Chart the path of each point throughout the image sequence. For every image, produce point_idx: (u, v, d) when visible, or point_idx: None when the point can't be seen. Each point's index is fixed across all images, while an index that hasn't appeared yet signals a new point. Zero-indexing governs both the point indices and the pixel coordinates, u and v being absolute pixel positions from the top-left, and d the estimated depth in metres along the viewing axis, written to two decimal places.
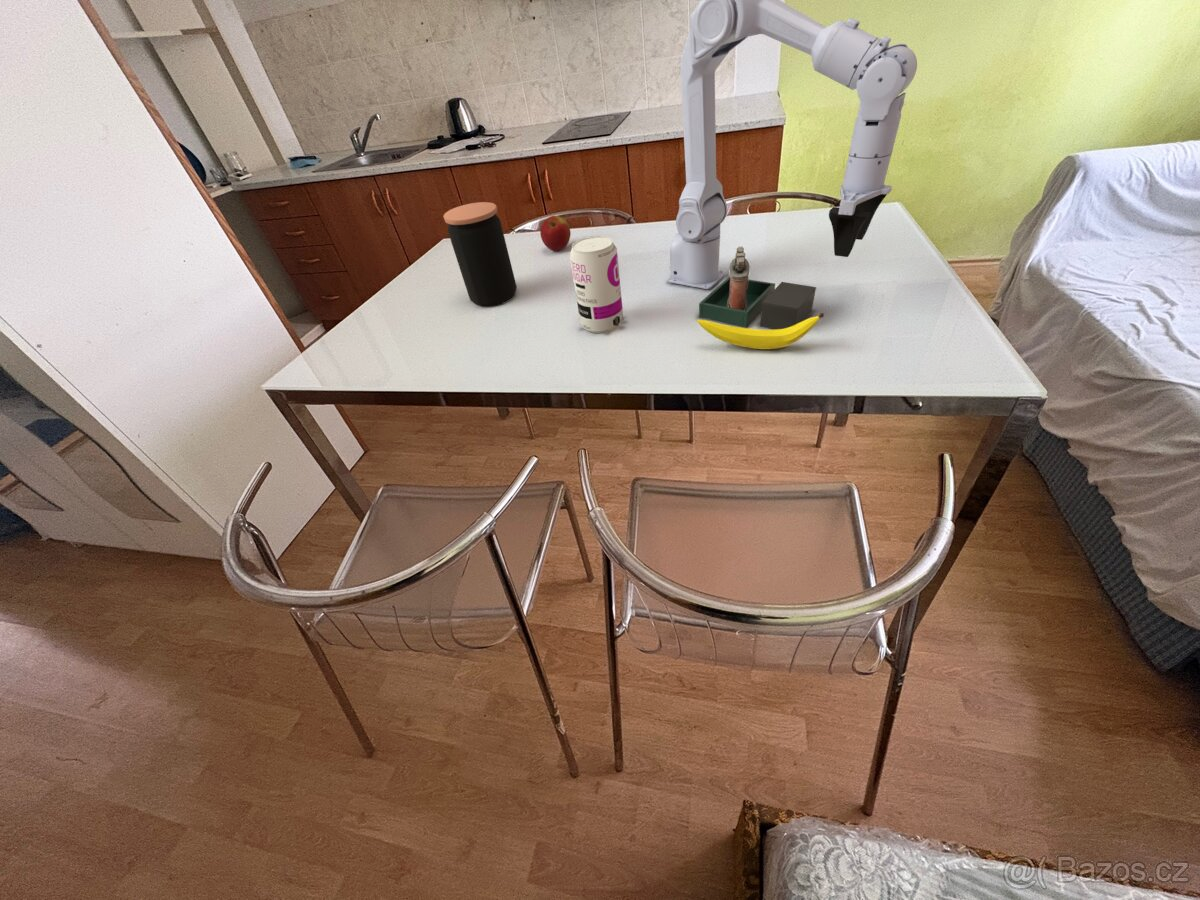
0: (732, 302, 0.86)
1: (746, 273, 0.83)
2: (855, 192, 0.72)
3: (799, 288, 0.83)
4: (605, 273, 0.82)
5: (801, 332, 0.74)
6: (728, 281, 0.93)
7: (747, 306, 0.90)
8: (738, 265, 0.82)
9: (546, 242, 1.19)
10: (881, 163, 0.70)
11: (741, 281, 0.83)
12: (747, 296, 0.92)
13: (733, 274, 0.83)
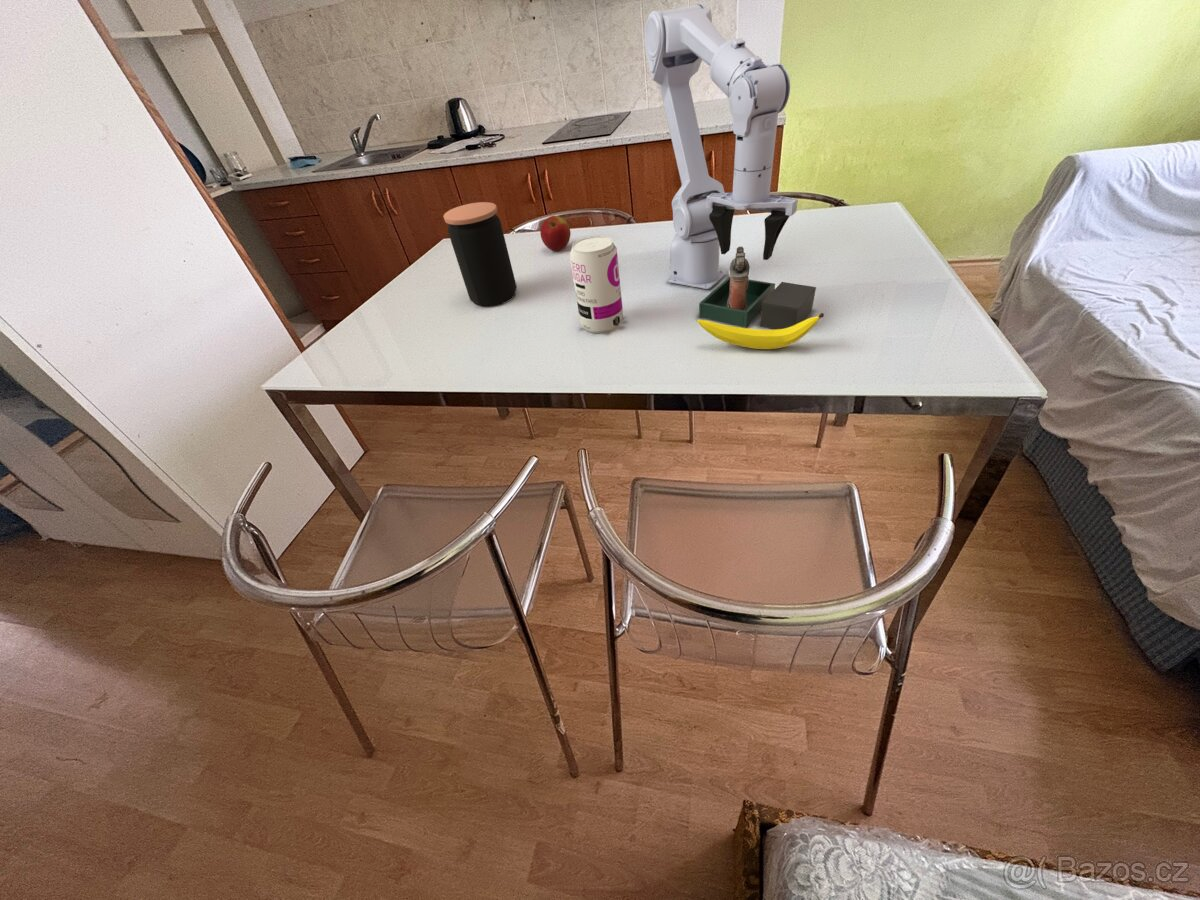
0: (732, 302, 0.86)
1: (746, 273, 0.83)
2: (732, 195, 0.79)
3: (799, 288, 0.83)
4: (605, 273, 0.82)
5: (801, 332, 0.74)
6: (728, 281, 0.93)
7: (747, 306, 0.90)
8: (738, 265, 0.82)
9: (546, 242, 1.19)
10: (736, 176, 0.75)
11: (741, 281, 0.83)
12: (747, 296, 0.92)
13: (733, 274, 0.83)
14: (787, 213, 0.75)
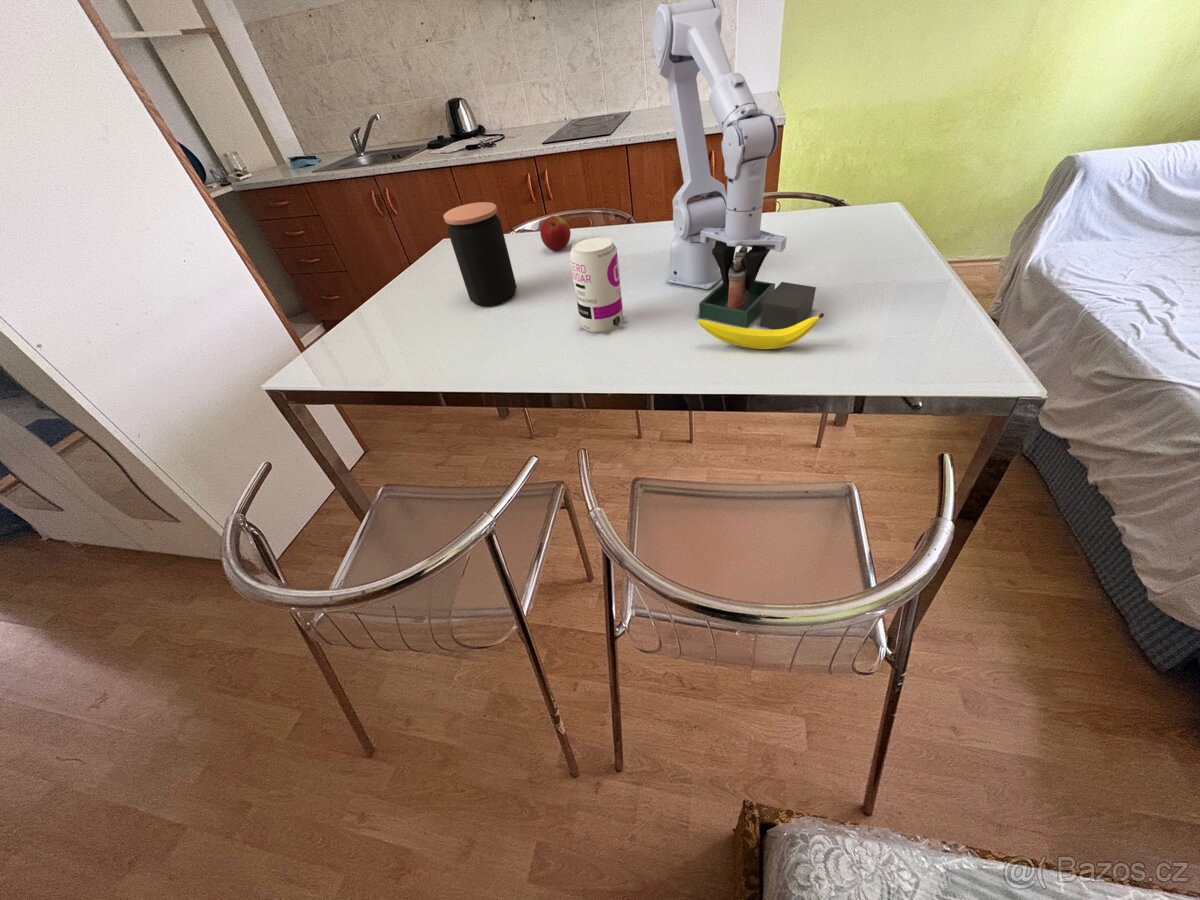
0: (728, 301, 0.87)
1: (743, 273, 0.83)
2: (724, 231, 0.83)
3: (799, 288, 0.83)
4: (605, 273, 0.82)
5: (801, 332, 0.74)
6: None
7: (747, 306, 0.90)
8: (735, 264, 0.83)
9: (546, 242, 1.19)
10: (727, 214, 0.79)
11: (736, 280, 0.83)
12: None
13: (730, 273, 0.84)
14: (776, 250, 0.79)
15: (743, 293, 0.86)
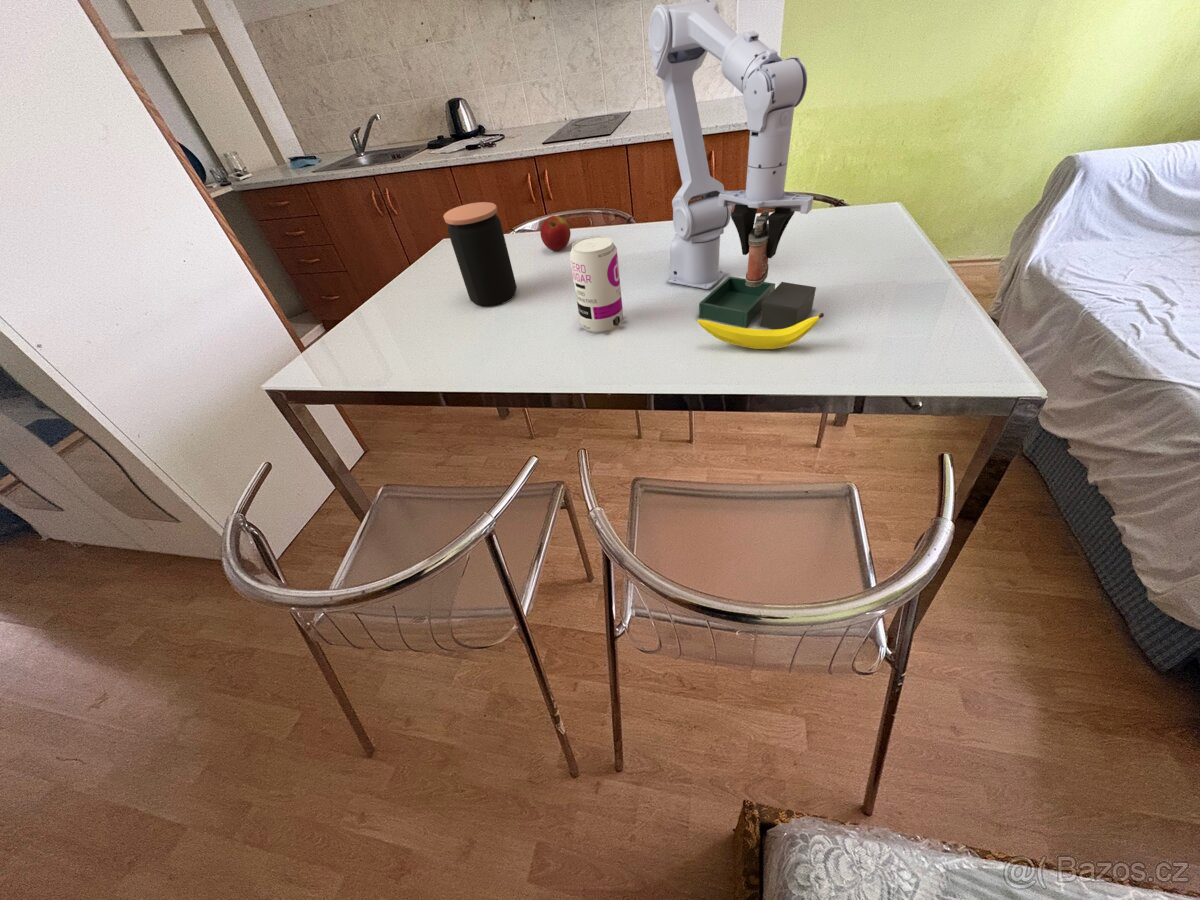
0: (748, 270, 0.81)
1: (764, 238, 0.77)
2: (745, 193, 0.77)
3: (799, 288, 0.83)
4: (605, 273, 0.82)
5: (801, 332, 0.74)
6: (728, 281, 0.93)
7: (747, 306, 0.90)
8: (756, 229, 0.77)
9: (546, 242, 1.19)
10: (749, 173, 0.73)
11: (757, 246, 0.77)
12: (747, 296, 0.92)
13: (750, 238, 0.78)
14: (802, 211, 0.73)
15: (764, 261, 0.80)
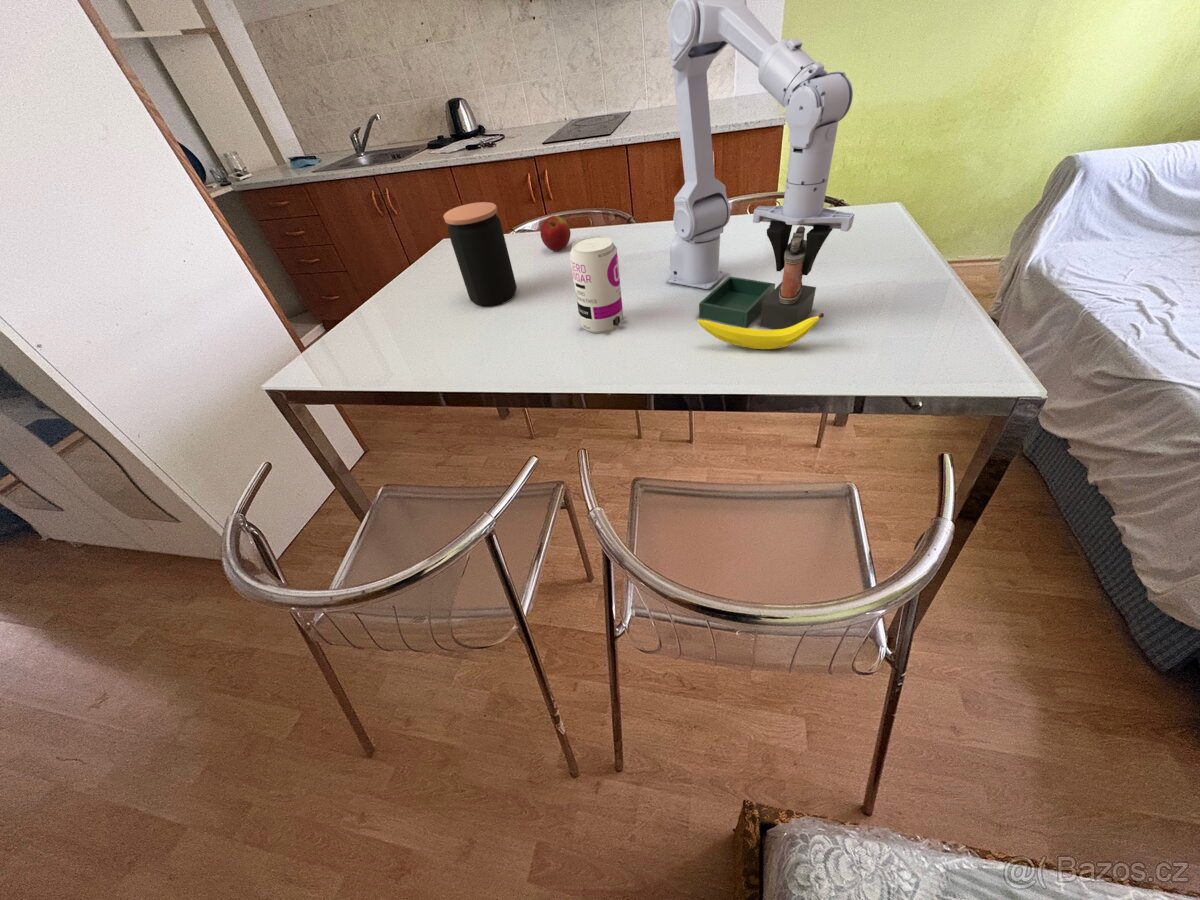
0: (783, 287, 0.79)
1: (801, 256, 0.75)
2: (781, 209, 0.75)
3: None
4: (605, 273, 0.82)
5: (801, 332, 0.74)
6: (728, 281, 0.93)
7: (747, 306, 0.90)
8: (793, 246, 0.74)
9: (546, 242, 1.19)
10: (788, 189, 0.71)
11: (794, 264, 0.75)
12: (747, 296, 0.92)
13: (786, 255, 0.76)
14: (843, 229, 0.70)
15: (799, 278, 0.78)
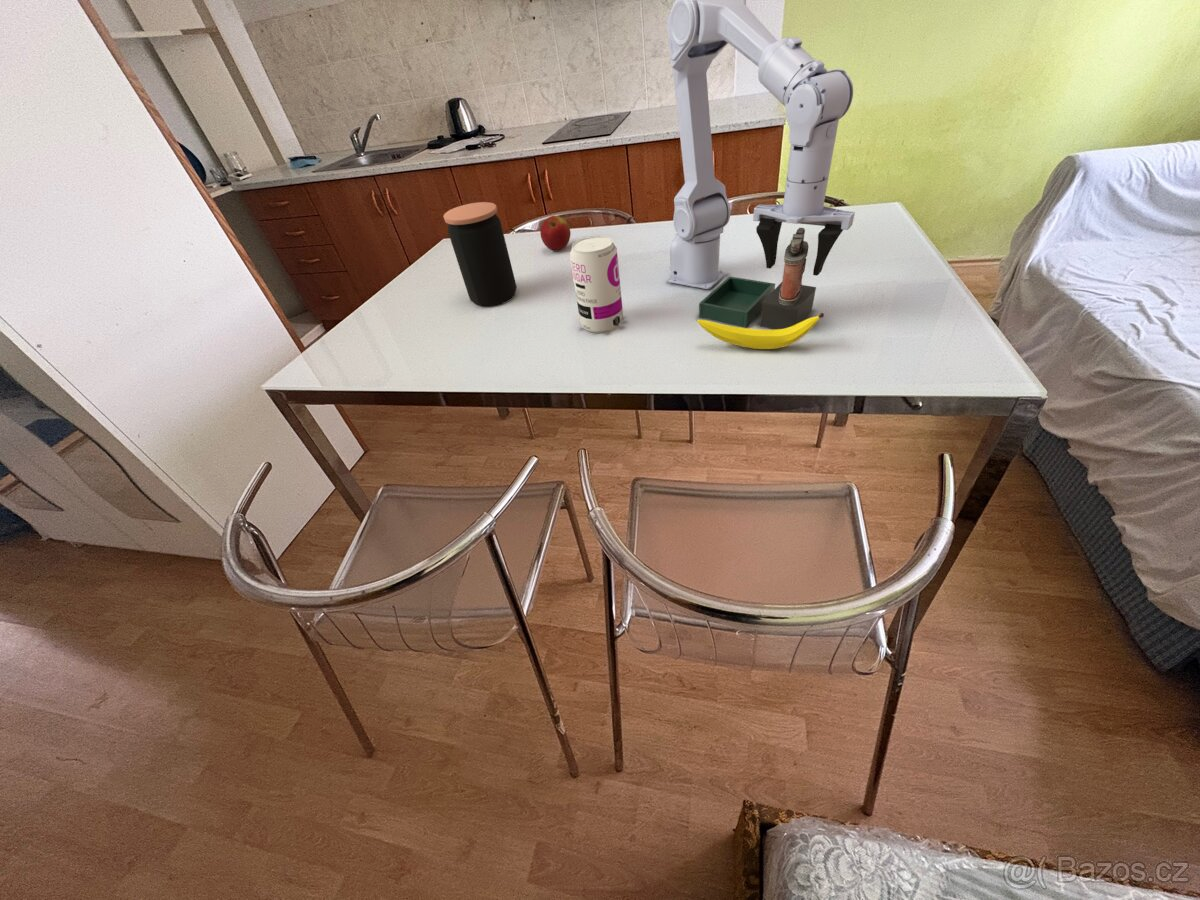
0: (782, 288, 0.79)
1: (801, 257, 0.75)
2: (781, 207, 0.75)
3: None
4: (605, 273, 0.82)
5: (801, 332, 0.74)
6: (728, 281, 0.93)
7: (747, 306, 0.90)
8: (793, 247, 0.75)
9: (546, 242, 1.19)
10: (788, 187, 0.70)
11: (794, 265, 0.75)
12: (747, 296, 0.92)
13: (786, 257, 0.76)
14: (843, 227, 0.70)
15: (799, 280, 0.78)
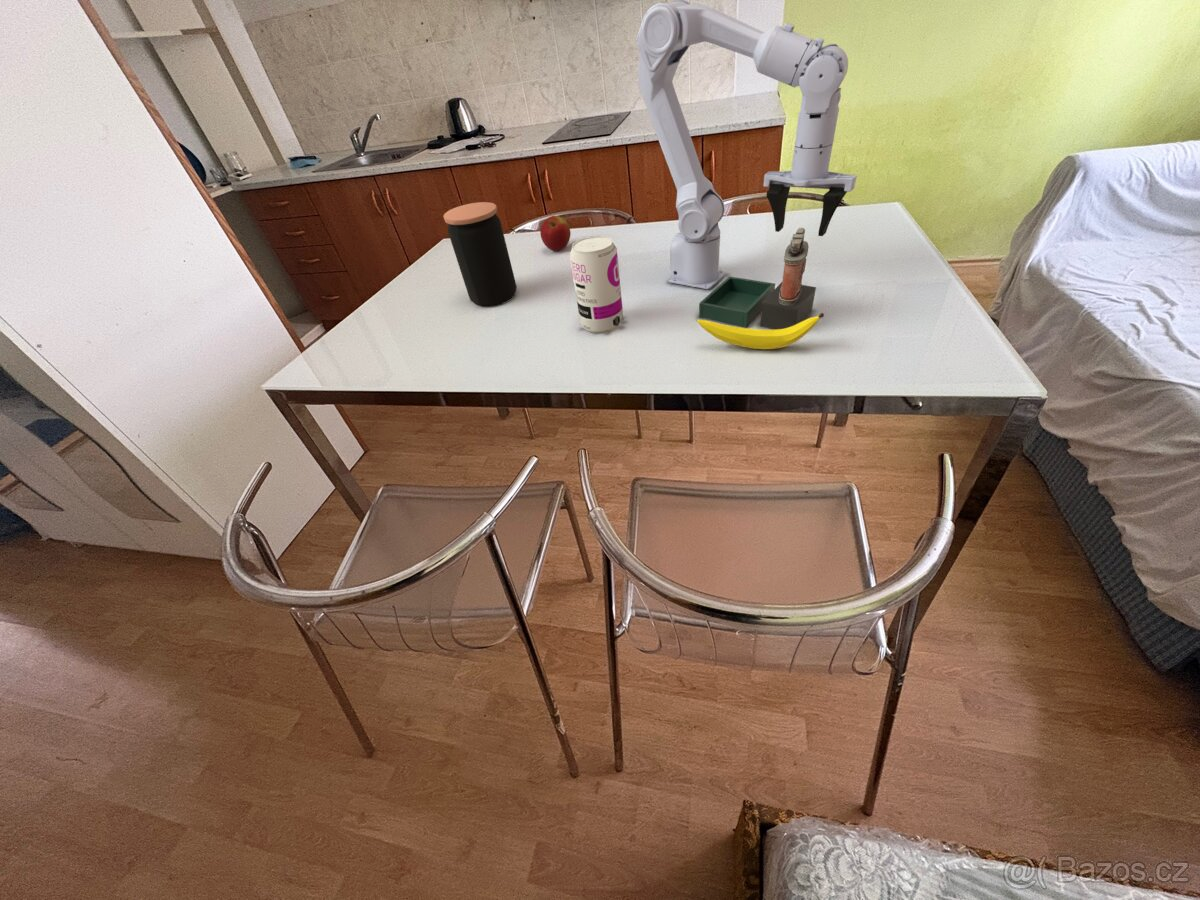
0: (782, 288, 0.79)
1: (801, 257, 0.75)
2: (790, 173, 0.82)
3: None
4: (605, 273, 0.82)
5: (801, 332, 0.74)
6: (728, 281, 0.93)
7: (747, 306, 0.90)
8: (793, 247, 0.75)
9: (546, 242, 1.19)
10: (796, 153, 0.78)
11: (794, 265, 0.75)
12: (747, 296, 0.92)
13: (786, 257, 0.76)
14: (846, 189, 0.78)
15: (799, 280, 0.78)
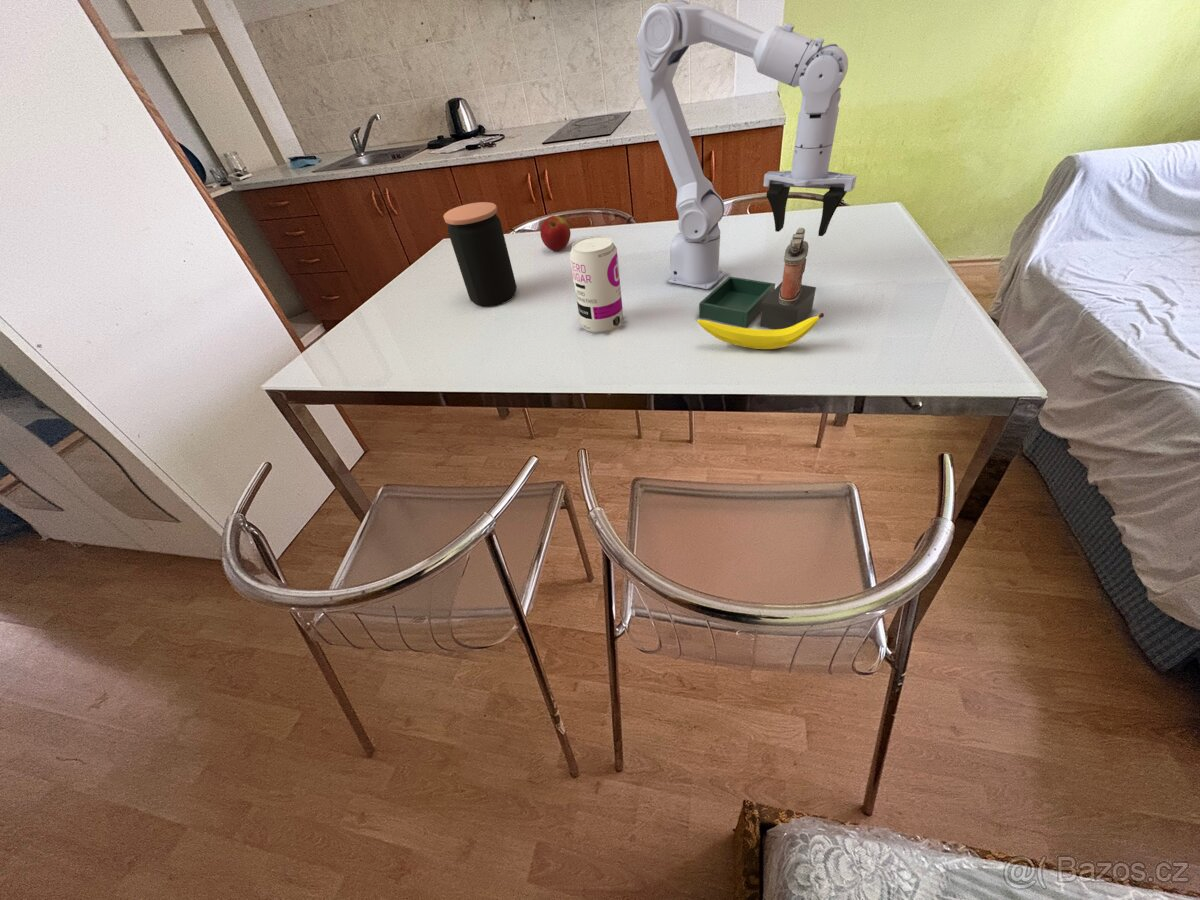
0: (782, 288, 0.79)
1: (801, 257, 0.75)
2: (790, 173, 0.82)
3: None
4: (605, 273, 0.82)
5: (801, 332, 0.74)
6: (728, 281, 0.93)
7: (747, 306, 0.90)
8: (793, 247, 0.75)
9: (546, 242, 1.19)
10: (796, 153, 0.78)
11: (794, 265, 0.75)
12: (747, 296, 0.92)
13: (786, 257, 0.76)
14: (846, 189, 0.78)
15: (799, 280, 0.78)
